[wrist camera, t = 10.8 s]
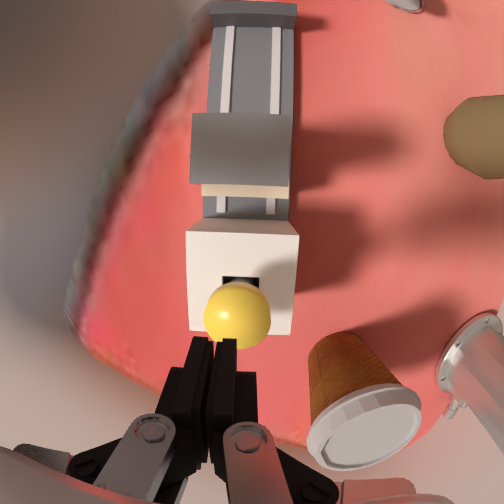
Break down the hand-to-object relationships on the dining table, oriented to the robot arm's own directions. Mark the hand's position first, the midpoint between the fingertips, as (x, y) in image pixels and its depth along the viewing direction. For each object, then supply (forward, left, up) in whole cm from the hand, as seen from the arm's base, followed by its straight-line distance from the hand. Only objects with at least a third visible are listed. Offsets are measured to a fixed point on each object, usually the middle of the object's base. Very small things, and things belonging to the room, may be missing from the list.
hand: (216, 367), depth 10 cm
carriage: (+8, -1, -14) cm, 16 cm away
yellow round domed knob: (0, -1, -11) cm, 11 cm away
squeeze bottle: (+14, -23, -15) cm, 30 cm away
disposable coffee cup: (-10, -11, -15) cm, 21 cm away
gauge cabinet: (0, -1, -14) cm, 14 cm away
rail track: (+10, -1, -15) cm, 18 cm away
